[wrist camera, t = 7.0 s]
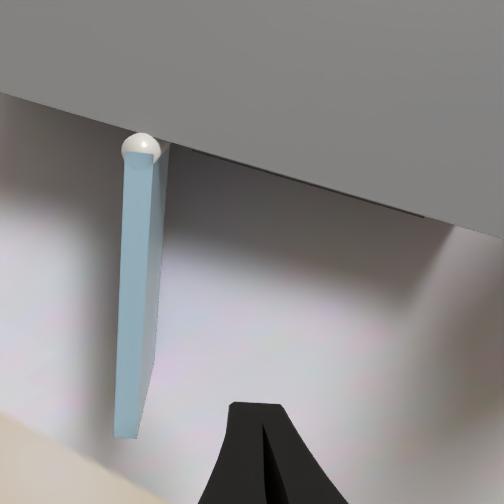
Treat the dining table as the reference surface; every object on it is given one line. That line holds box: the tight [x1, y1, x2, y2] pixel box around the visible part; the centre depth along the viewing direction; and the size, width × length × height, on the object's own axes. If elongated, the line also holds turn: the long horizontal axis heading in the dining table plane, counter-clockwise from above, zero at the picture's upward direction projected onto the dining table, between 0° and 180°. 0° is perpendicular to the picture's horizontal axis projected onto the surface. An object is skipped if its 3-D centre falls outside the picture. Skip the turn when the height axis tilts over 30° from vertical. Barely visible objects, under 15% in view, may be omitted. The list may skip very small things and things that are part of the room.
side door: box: [113, 132, 171, 439], centre depth 17 cm, size 10×1×5 cm, turn 173°
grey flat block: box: [0, 0, 504, 239], centre depth 15 cm, size 20×10×5 cm, turn 73°
